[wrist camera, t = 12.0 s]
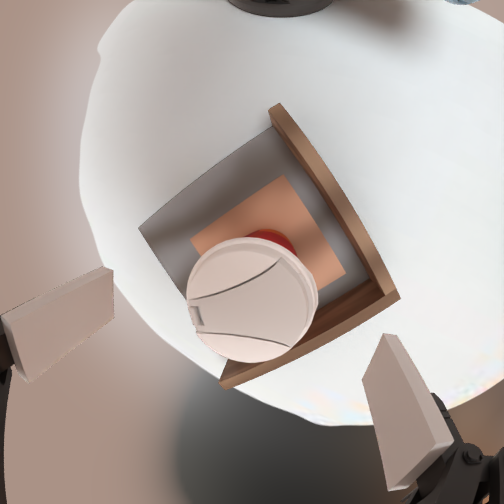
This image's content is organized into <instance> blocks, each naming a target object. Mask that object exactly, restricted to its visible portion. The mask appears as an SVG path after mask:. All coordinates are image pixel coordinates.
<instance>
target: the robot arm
mask: <svg viewBox="0 0 504 504" xmlns="http://www.w3.org/2000/svg"><path fill="white" fill-rule="evenodd" d="M229 1H230V2H231V3H232V4H233V5H235V6H236V7H238V8H240V9H242V10H244V11H247V12H250V13H254V14H258V15H264V16H273V17H291V16H300V15H306V14H310V13H313V12H316V11H319V10H321V9H323V8H325V7H327V6H328V5H329V4H331V3H332V2H333V1H334V0H229ZM445 1H447V2H449V3H452V4H457V5H467V4H470V3H474V2H477V1H479V0H445ZM113 300H114V299H113V270H111V269H108V268H105V267H100V268H98V269H95V270H93V271H91V272H89V273H87V274H84V275H82V276H80V277H78V278H76V279H73V280H71V281H69V282H67V283H65V284H63V285H61V286H59V287H56V288H54V289H52V290H50V291H48V292H46V293H44V294H42V295H40V296H38V297H36V298H33V299H31V300H29V301H27V302H26V303H23V304H21V305H20V306H17V307H15V308H13V309H12V310H10V311H8V312H6V313H4V314H2V315H0V504H7V500H6V492H5V481H4V431H5V418H6V409H7V400H8V394H9V388H10V382H11V377H12V370H11V366H12V365H13V364H15V366H16V369H17V372H18V374H19V376H20V377H22V378H23V379H24V380H25V381H26V382H27V383H29V384H30V383H32V382H33V381H34V380H35V379H36V378H38V377H39V376H40V375H41V374H43V373H44V372H45V371H46V370H48V369H49V368H50V367H51V366H53V365H54V364H55V363H56V362H58V361H59V360H60V359H62V358H63V357H64V356H65V355H67V354H68V353H69V352H70V351H72V350H73V349H74V348H75V347H77V346H78V345H79V344H81V343H82V342H83V341H85V340H86V339H87V338H89V337H90V336H91V335H92V334H94V333H95V332H96V331H98V330H99V329H100V328H101V327H103V326H104V325H106V324H107V323H108V322H109V321H111V320H112V319H113V318H114V301H113ZM362 382H363V386H364V389H365V393H366V397H367V400H368V404H369V408H370V412H371V415H372V419H373V423H374V427H375V431H376V436H377V440H378V444H379V449H380V453H381V458H382V462H383V467H384V472H385V477H386V483H387V488H388V491H392V490H399V489H405V488H407V487H408V486H410V485H411V484H412V483H413V482H414V481H415V480H417V484H418V487H417V488H415V489H414V490H413V491H412V492H410V493H409V494H408V495H407V496H405V497H404V498H403V499H402V500H401V502H404V501H405V500H406V499H408V500H407V502H406V503H405V504H482V501H483V499H484V498H486V497H487V496H488V495H489V501H488V502H487V503H486V504H504V447H503V448H501V449H500V450H499V451H498V452H497V453H496V454H495V456H484V455H483V453H482V451H481V450H480V449H479V448H478V447H477V446H475V445H474V444H470V443H464V442H463V440H462V438H461V436H460V434H459V432H458V430H457V428H456V426H455V424H454V422H453V420H452V419H450V415H449V413H448V411H447V409H446V407H445V405H444V403H443V402H442V400H441V399H440V398H439V397H438V396H437V395H436V394H435V393H430V391H429V389H428V388H427V386H426V384H425V382H424V380H423V379H422V377H421V375H420V373H419V372H418V370H417V368H416V366H415V365H414V363H413V361H412V359H411V358H410V356H409V354H408V353H407V351H406V349H405V348H404V346H403V344H402V343H401V341H400V340H399V338H398V336H397V335H391V334H385V333H383V335H382V337H381V339H380V342H379V344H378V346H377V349H376V351H375V353H374V355H373V357H372V360H371V362H370V364H369V366H368V368H367V370H366V372H365V374H364V376H363V378H362Z"/></svg>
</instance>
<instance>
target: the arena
mask: <svg viewBox="0 0 504 504" xmlns="http://www.w3.org/2000/svg"><path fill="white" fill-rule="evenodd" d="M268 112H269V115H270V119H271V122H272V127H270V128H269V129H267V130H265V131H264V132H262V133H261V134H259V135H258V136H256V137H255V138H253V139H252V140H250V141H249V142H247V143H246V144H245V145H243V146H242V147H240V148H239V149H237V150H236V151H235V152H233V153H232V154H230V155H229V156H227V157H226V158H225V159H223V160H222V161H221V162H219V163H218V164H216V165H215V166H214V167H212V168H211V169H210V170H208V171H207V172H206V173H204V174H203V175H202V176H200V177H199V178H198V179H197V180H195V181H194V182H193V183H191V184H190V185H189V186H188V187H186V188H185V189H184V190H183V191H181V192H180V193H179V194H178V195H176V196H175V197H174V198H173V199H171V200H170V201H169V202H168V203H166V204H165V205H164V206H163V207H162V208H160V209H159V210H158V211H157V212H156V213H155V214H153V215H152V216H151V217H150V218H149V219H148V220H146V221H145V222H144V223H143V224H142V225H141V226H140V227H138V229H139V230H140V232H141V233H142V235H143V237H144V238H145V240H146V241H147V243H148V245H149V246H150V248H151V249H152V251H153V252H154V254H155V255H156V257H157V258H158V260H159V261H160V263H161V264H162V266H163V267H164V269H165V270H166V272H167V273H168V275H169V276H170V278H171V279H172V281H173V282H174V284H175V285H176V286H177V288H178V289H179V291H180V292H181V294H182V295H183V296H184V298H185V299H186V301H187V295H186V291H187V283H188V279H189V276H190V273H191V271H192V269H193V267H194V265H195V264H196V263H197V261H198V260H199V259H200V257H201V256H202V255H203V254H205V253H206V252H207V251H208V250H209V249H211V248H212V247H214V246H215V245H217V244H219V243H222V242H224V241H226V240H230V239H234V238H242V237H244V236H246V235H248V234H250V233H252V232H255V231H257V230H261V229H273V230H276V231H279V232H281V233H282V234H284V235H285V236H286V237H287V238H288V239H289V240H290V242H291V243H292V245H293V247H294V249H295V252H296V254H297V257H298V259H299V260H300V261H301V262H302V264H303V265H304V266H305V267H306V268H307V269H308V270H309V271H310V273H311V274H312V275H313V278H314V280H315V283H316V287H317V292H318V306H317V309H316V311H315V314H314V317H313V320H312V323H311V325H310V327H309V329H308V330H307V332H306V333H305V335H304V336H303V337H302V338H301V339H300V340H299V341H298V342H297V343H296V344H295V345H294V346H293V347H292V348H291V349H290V350H289V351H287V352H286V353H284V354H283V355H281V356H279V357H276V358H274V359H271V360H268V361H264V362H257V363H247V362H239V361H235V360H231V359H229V358H228V360H227V363H226V365H225V368H224V370H223V373H222V375H221V377H220V380H219V382H218V383H219V384H220V385H221V387H222V388H223V389H224V390H227V389H230V388H232V387H235V386H237V385H240V384H242V383H245V382H247V381H249V380H252V379H254V378H257V377H259V376H261V375H263V374H266V373H268V372H270V371H272V370H275V369H277V368H279V367H281V366H283V365H285V364H287V363H290V362H292V361H294V360H296V359H298V358H300V357H302V356H304V355H306V354H308V353H310V352H312V351H314V350H316V349H317V348H319V347H321V346H323V345H325V344H327V343H329V342H331V341H332V340H334V339H336V338H338V337H340V336H341V335H343V334H345V333H347V332H348V331H350V330H352V329H353V328H355V327H357V326H359V325H360V324H362V323H364V322H365V321H367V320H369V319H370V318H372V317H373V316H375V315H377V314H378V313H380V312H381V311H383V310H384V309H386V308H388V307H389V306H391V305H392V304H394V303H395V302H397V301H398V300H400V299H401V298H400V296H399V293H398V291H397V289H396V287H395V285H394V283H393V281H392V279H391V277H390V274H389V272H388V270H387V268H386V266H385V264H384V262H383V261H382V259H381V257H380V255H379V253H378V251H377V249H376V247H375V245H374V243H373V242H372V240H371V238H370V236H369V234H368V233H367V231H366V229H365V227H364V225H363V224H362V222H361V220H360V218H359V217H358V215H357V213H356V212H355V210H354V208H353V207H352V205H351V203H350V202H349V200H348V198H347V197H346V195H345V194H344V192H343V190H342V189H341V187H340V186H339V184H338V183H337V181H336V179H335V178H334V176H333V175H332V173H331V172H330V170H329V169H328V167H327V166H326V164H325V163H324V161H323V160H322V158H321V157H320V156H319V154H318V153H317V151H316V150H315V148H314V147H313V146H312V144H311V143H310V141H309V140H308V139H307V137H306V136H305V135H304V133H303V132H302V131H301V129H300V128H299V127H298V125H297V124H296V123H295V121H294V120H293V119H292V117H291V116H290V115H289V114H288V112H287V111H286V110H285V108H284V107H283V106H282V105H281V104H280V103H278V104H277V105H275V106H273V107H272V108H270V109H269V110H268Z"/></svg>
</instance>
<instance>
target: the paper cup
mask: <svg viewBox="0 0 504 504" xmlns="http://www.w3.org/2000/svg"><path fill="white" fill-rule="evenodd" d="M186 295H187V305H188V310H189V313H190V316H191V319H192V322H193V325H195V327H196V330H197V331H196V333H197V335H198V336H199V338H200V339H201V340H202V341H203V342H204V343H205V344H206V345H207V346H208V347H209V348H211V349H212V350H213V351H214V352H216V353H218V354H220V355H221V356H224V357H226V358H229V359H231V360H235V361H239V362H247V363H257V362H264V361H268V360H271V359H274V358H276V357H279V356H281V355H283V354H284V353H286V352H287V351H289V350H290V349H291V348H292V347H293V346H294V345H295V344H296V343H297V342H298V341H299V340H300V339H301V338H302V337H303V336H304V335H305V333H306V332H307V330H308V329H309V327H310V325H311V323H312V320H313V317H314V314H315V311H316V309H317V306H318V292H317V287H316V283H315V280H314V278H313V275H312V274H311V273H310V271H309V270H308V269H307V268H306V267H305V266H304V265H303V264H302V262H301V261H300V260H299V259H298V257H297V254H296V252H295V249H294V247H293V245H292V243H291V242H290V240H289V239H288V238H287V237H286V236H285V235H284V234H282V233H281V232H279V231H276V230H273V229H261V230H257V231H255V232H252V233H250V234H248V235H246V236H244V237H242V238H234V239H230V240H226V241H224V242H222V243H219V244H217V245H215V246H214V247H212V248H211V249H209V250H208V251H207V252H206V253H205V254H203V255H202V256H201V257H200V259H199V260H198V261H197V263H196V264H195V265H194V267H193V269H192V271H191V273H190V276H189V279H188V283H187V291H186Z"/></svg>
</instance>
